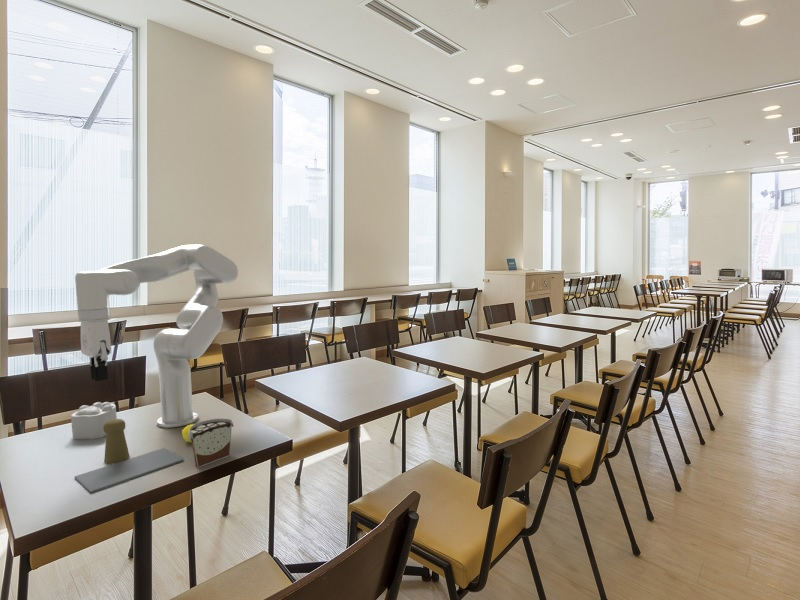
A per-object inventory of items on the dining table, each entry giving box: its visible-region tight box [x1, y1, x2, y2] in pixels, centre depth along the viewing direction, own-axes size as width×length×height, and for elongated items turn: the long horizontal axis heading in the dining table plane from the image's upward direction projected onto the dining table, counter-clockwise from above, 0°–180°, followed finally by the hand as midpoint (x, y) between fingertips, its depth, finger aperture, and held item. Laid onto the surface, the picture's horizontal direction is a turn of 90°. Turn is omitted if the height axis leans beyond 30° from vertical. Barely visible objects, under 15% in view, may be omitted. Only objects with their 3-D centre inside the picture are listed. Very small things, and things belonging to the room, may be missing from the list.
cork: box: [103, 418, 131, 465], centre depth 127 cm, size 6×6×11 cm
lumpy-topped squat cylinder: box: [70, 401, 118, 440], centre depth 148 cm, size 10×13×9 cm
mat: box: [74, 447, 185, 494], centre depth 121 cm, size 12×22×1 cm, turn 140°
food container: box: [188, 418, 234, 469], centre depth 127 cm, size 12×6×10 cm, turn 141°
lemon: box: [181, 423, 194, 444], centre depth 139 cm, size 7×5×5 cm
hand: (99, 378), depth 131 cm, fingers closed
